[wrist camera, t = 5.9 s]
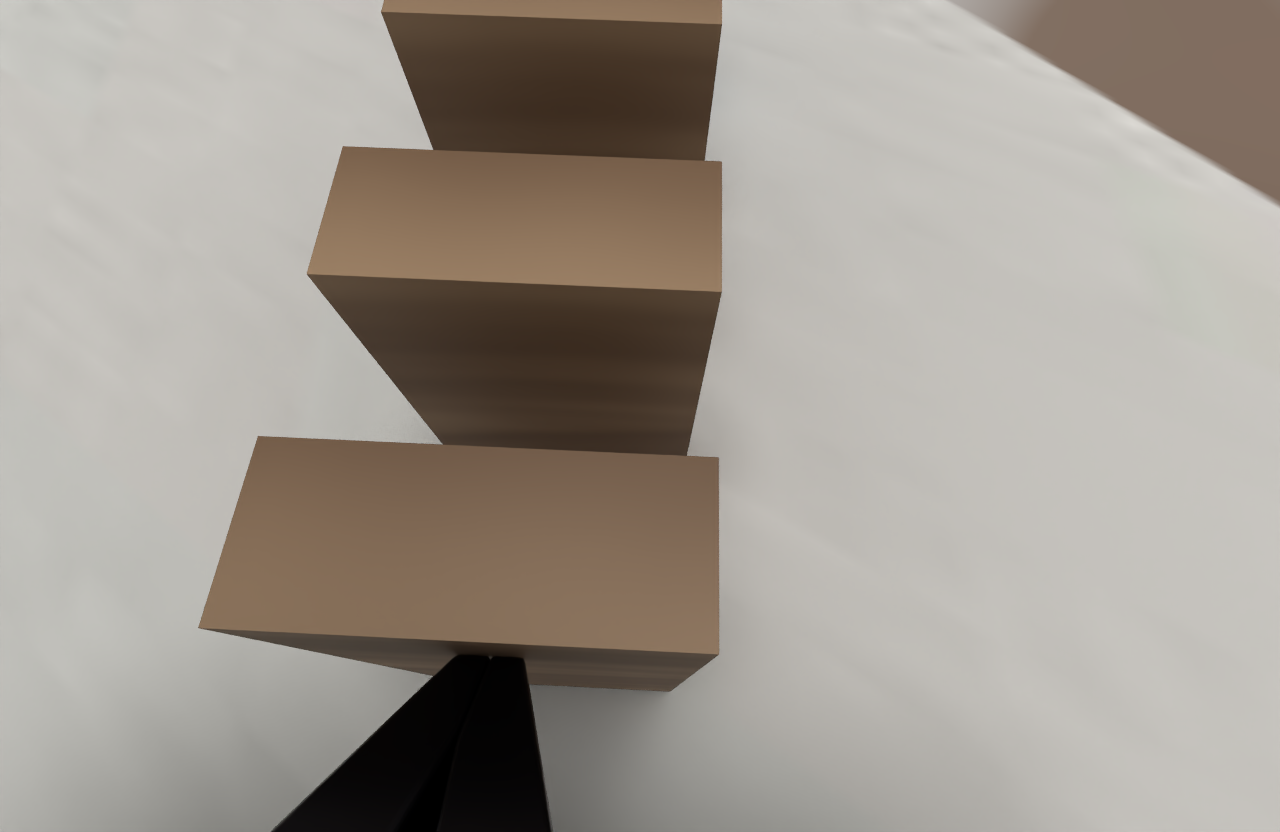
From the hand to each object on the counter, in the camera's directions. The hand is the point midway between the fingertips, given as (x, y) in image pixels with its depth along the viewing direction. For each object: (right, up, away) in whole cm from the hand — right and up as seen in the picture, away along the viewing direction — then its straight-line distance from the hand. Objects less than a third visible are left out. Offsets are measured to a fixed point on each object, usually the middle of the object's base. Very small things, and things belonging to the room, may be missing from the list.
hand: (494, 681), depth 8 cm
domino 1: (+1, +6, +11) cm, 13 cm away
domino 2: (0, +2, +9) cm, 10 cm away
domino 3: (0, -2, +8) cm, 8 cm away
